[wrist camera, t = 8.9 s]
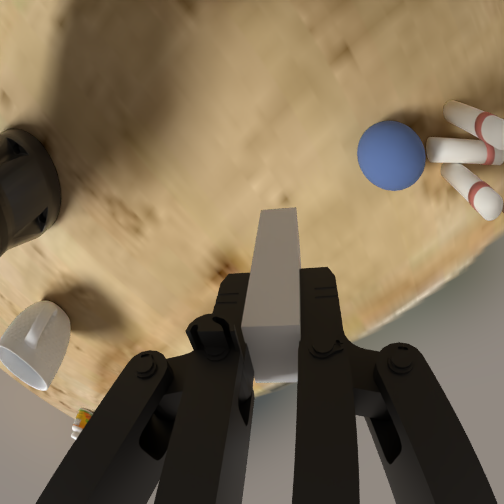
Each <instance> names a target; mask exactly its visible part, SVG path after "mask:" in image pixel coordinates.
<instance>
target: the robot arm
mask: <svg viewBox="0 0 504 504" xmlns="http://www.w3.org/2000/svg"><path fill="white" fill-rule="evenodd" d="M60 201H61V195H60V185H59V180H58V176H57V173H56V170H55V167H54V165H53V162H52V160H51V158H50V156H49V155H48V153H47V151H46V150H45V148H44V147H43V146H42V144H41V143H40V142H39V141H38V140H37V139H36V138H35V137H33V136H32V135H31V134H29V133H27V132H25V131H23V130H19V129H10V130H7V131H5V132H3V133H1V134H0V257H1V256H2V255H3V253H5V252H6V251H7V250H9V249H11V248H13V247H16V246H18V245H21V244H23V243H26V242H28V241H31V240H33V239H36V238H38V237H39V236H41V235H42V234H43V233H44V232H45V231H46V230H47V229H49V228H50V227H51V226H52V225H53V223H54V222H55V220H56V218H57V216H58V213H59V209H60ZM186 334H187V336H188V338H189V340H190V343H191V345H192V347H193V349H194V351H192V352H190V353H188V354H185V355H181V356H177V357H173V358H168V359H166V358H165V357H164V355H163V354H161V353H159V352H158V351H151V350H149V351H145V352H141V353H139V354H137V355H136V356H134V357H133V358H132V359H131V360H130V361H129V362H128V364H127V365H126V367H125V368H124V369H123V371H122V372H121V374H120V375H119V377H118V378H117V380H116V381H115V382H114V384H113V385H112V387H111V388H110V390H109V391H108V393H107V394H106V396H105V397H104V398H103V400H102V401H101V403H100V404H99V406H98V407H97V409H96V410H95V412H94V413H93V415H92V416H91V418H90V419H89V421H88V422H87V424H86V425H85V427H84V428H83V430H82V431H81V433H80V434H79V436H78V437H77V439H76V440H75V442H74V443H73V445H72V446H71V448H70V450H69V451H68V453H67V454H66V456H65V457H64V459H63V461H62V462H61V464H60V465H59V467H58V468H57V470H56V471H55V473H54V475H53V476H52V478H51V479H50V481H49V483H48V484H47V486H46V487H45V489H44V491H43V492H42V494H41V496H40V497H39V499H38V500H37V502H36V504H147V502H148V500H149V498H150V496H151V494H152V493H153V491H154V489H155V487H156V485H157V483H158V481H159V480H160V481H159V485H158V489H157V493H156V497H155V501H154V504H242V496H243V489H244V488H243V487H244V481H245V473H246V465H247V456H248V449H249V441H250V431H251V424H252V415H253V406H254V391H253V388H252V387H253V379H254V378H255V381H256V383H275V382H298V384H297V421H296V444H295V465H294V482H293V496H292V504H360V499H359V465H358V445H357V430H356V417H355V415H359V416H364V417H365V420H366V422H367V425H368V427H369V430H370V433H371V435H372V438H373V441H374V443H375V446H376V449H377V451H378V454H379V457H380V459H381V462H382V465H383V467H384V470H385V473H386V476H387V478H388V481H389V484H390V487H391V490H392V493H393V495H394V498H395V501H396V504H497V501H496V499H495V496H494V494H493V492H492V489H491V487H490V484H489V482H488V480H487V477H486V475H485V473H484V471H483V468H482V466H481V464H480V462H479V460H478V458H477V455H476V454H475V451H474V449H473V447H472V445H471V443H470V441H469V439H468V437H467V435H466V433H465V431H464V429H463V427H462V425H461V423H460V421H459V419H458V417H457V416H456V413H455V412H454V410H453V408H452V406H451V404H450V402H449V400H448V399H447V397H446V395H445V393H444V391H443V390H442V388H441V386H440V384H439V382H438V381H437V379H436V377H435V375H434V374H433V372H432V370H431V369H430V367H429V365H428V363H427V362H426V360H425V358H424V357H423V355H422V354H421V353H420V352H419V351H418V349H417V348H415V347H413V346H411V345H410V344H406V343H400V342H399V343H393V344H389V345H388V346H386V347H384V348H383V349H382V350H381V351H380V352H378V351H373V350H367V349H363V348H360V347H358V346H356V345H354V344H352V343H351V342H350V341H349V340H348V339H347V337H346V336H345V334H344V331H343V325H342V318H341V311H340V305H339V298H338V292H337V285H336V279H335V275H334V274H333V273H332V272H331V270H330V269H329V268H328V267H319V268H304V269H301V258H300V245H299V233H298V221H297V210H296V207H295V208H282V209H269V210H261V213H260V219H259V225H258V231H257V237H256V243H255V248H254V254H253V260H252V266H251V272H250V273H235V274H228V275H227V277H226V278H225V279H224V280H223V281H222V282H221V284H220V288H219V292H218V296H217V299H216V304H215V306H214V310H213V313H212V314H205V315H203V316H200V317H198V318H196V319H195V320H194V321H193V322H191V323H190V324H189V326H188V327H187V329H186Z"/></svg>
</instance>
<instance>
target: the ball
mask: <svg viewBox="0 0 504 504" xmlns="http://www.w3.org/2000/svg"><path fill="white" fill-rule="evenodd" d="M357 156H358V162H359V165H360V168H361V170H362V172H363V174H364V175H365V176H366V178H367V179H368V180H369V181H370V182H372V183H373V184H374V185H376V186H378V187H380V188H382V189H385V190H392V191H396V190H402V189H405V188H408V187H410V186H411V185H413V184H414V183H415V182H416V181H417V180H418V179H419V177H420V176H421V174H422V172H423V170H424V167H425V159H426V156H425V150H424V146H423V144H422V141H421V140H420V138H419V136H418V135H417V134H416V133H415V132H414V131H413V130H412V129H411V128H410V127H408V126H407V125H405V124H402V123H400V122H396V121H382V122H379V123H376V124H374V125H372V126H371V127H369V128H368V129H367V130H366V131H365V132H364V134H363V135H362V137H361V139H360V141H359V145H358V151H357Z"/></svg>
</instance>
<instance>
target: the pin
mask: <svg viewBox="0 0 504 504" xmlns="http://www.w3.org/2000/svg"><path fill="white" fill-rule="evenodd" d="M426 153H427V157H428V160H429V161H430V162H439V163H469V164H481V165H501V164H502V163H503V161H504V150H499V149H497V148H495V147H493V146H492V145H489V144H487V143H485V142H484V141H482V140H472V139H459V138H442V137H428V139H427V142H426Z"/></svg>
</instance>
